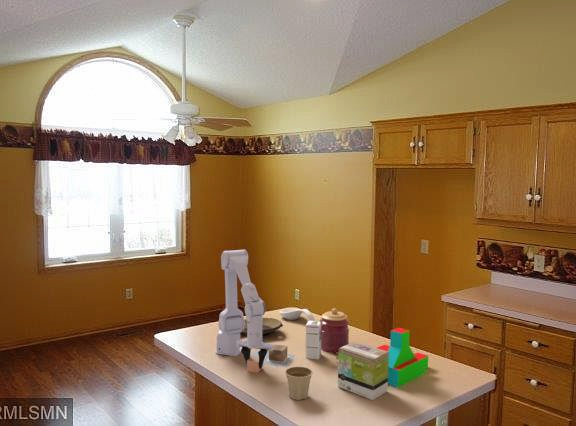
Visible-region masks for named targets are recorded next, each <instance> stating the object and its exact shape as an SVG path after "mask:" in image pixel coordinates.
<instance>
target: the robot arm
mask: <svg viewBox="0 0 576 426" xmlns="http://www.w3.org/2000/svg"><path fill="white" fill-rule="evenodd" d="M248 253H249V252H248V251H247V250H246V249H237V250H236V249H235V250H224V251H222V253H221V256H220V264H221V266H220V267H221V270H224V285H225V286H224V287H225V289H224V290H225V292H224V293H225V294H224V295H225V309H223V310H222V311H221V312H220V313H219V319H218V329H219V331H218V332H217V334H216V335H217V336H216V352H215V354H217V355H225V356H232V357H237V356H239V355H240V354H242V356H243V358H244V361H245V362H244V363H245V366H246V367H247V360H248V359H249V358H250V355H251V354H252V353H251V352H252V351H251V350H253V349H255V350H259V352H258V355H259V369H261V368H262V369H263V367H264V365H263V362H264V359H265V356H266V354H267V352H269V351H273V344H270V343H267V342H263V334H262V318H263V316H264V315H266V304H265V302H264V300H262V297H259V294H258V291H257V288H256V285H255V284H254V283H252V281H251V278H250V274H249V270H248V264H249V254H248ZM238 278H239V281H240V283H241V289H240V292H241V295H242V298H243V302H244V305H245V306H244V312H243V311H242V310H240V309H239V307H238V306H239V305H238ZM244 313H245V318H244ZM245 319H246V320H247V334H246V337H247V340H241V333H242V329H243V328H244V325H245V321H244V320H245ZM262 369H261V370H262Z"/></svg>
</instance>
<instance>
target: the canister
mask: <svg viewBox="0 0 576 426" xmlns="http://www.w3.org/2000/svg"><path fill="white" fill-rule="evenodd" d="M319 321H320V322H321V351H324V352H327V353H332V354H334V353H335V354H339V348H341V347H343V346H345V345H348V344H350V342H349V339H350V337H349V336H350V335H349V334H350V333H349V332H350V328H349V324H350V320H349V319H348V315H347V314H345V313H344V312H343V311H338V308H335V307H334V308H331V310H329V311H326V312H324V313H322V315H321V318H320V319H319Z"/></svg>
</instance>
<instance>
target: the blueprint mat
mask: <svg viewBox="0 0 576 426" xmlns="http://www.w3.org/2000/svg"><path fill="white" fill-rule="evenodd" d="M259 351H260V349H255V350H254V351H253V352H252V353H250V357H251V356H252V357H259V355H258V352H259ZM296 356H297V354H290V353H287V358H286V359H285V360H284V361H283V362H280V361H272V360H269V351H268V352H267V354H266V356H265V359H264V362H263V366H271V367H272V366H273V367H280V368H281V367H282V368H287V367H288V366H289V365H290V364H291V362H292V361H294V359H295V358H296ZM243 363H246V362H245V360H244V361H243Z"/></svg>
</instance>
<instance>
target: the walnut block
mask: <svg viewBox="0 0 576 426" xmlns="http://www.w3.org/2000/svg"><path fill="white" fill-rule="evenodd" d="M272 345H273V351H269V350H268V352H269V360H272V361H280V362H283V361H284V360H285V359H286V358H287V354H288V345H281V344H272Z"/></svg>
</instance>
